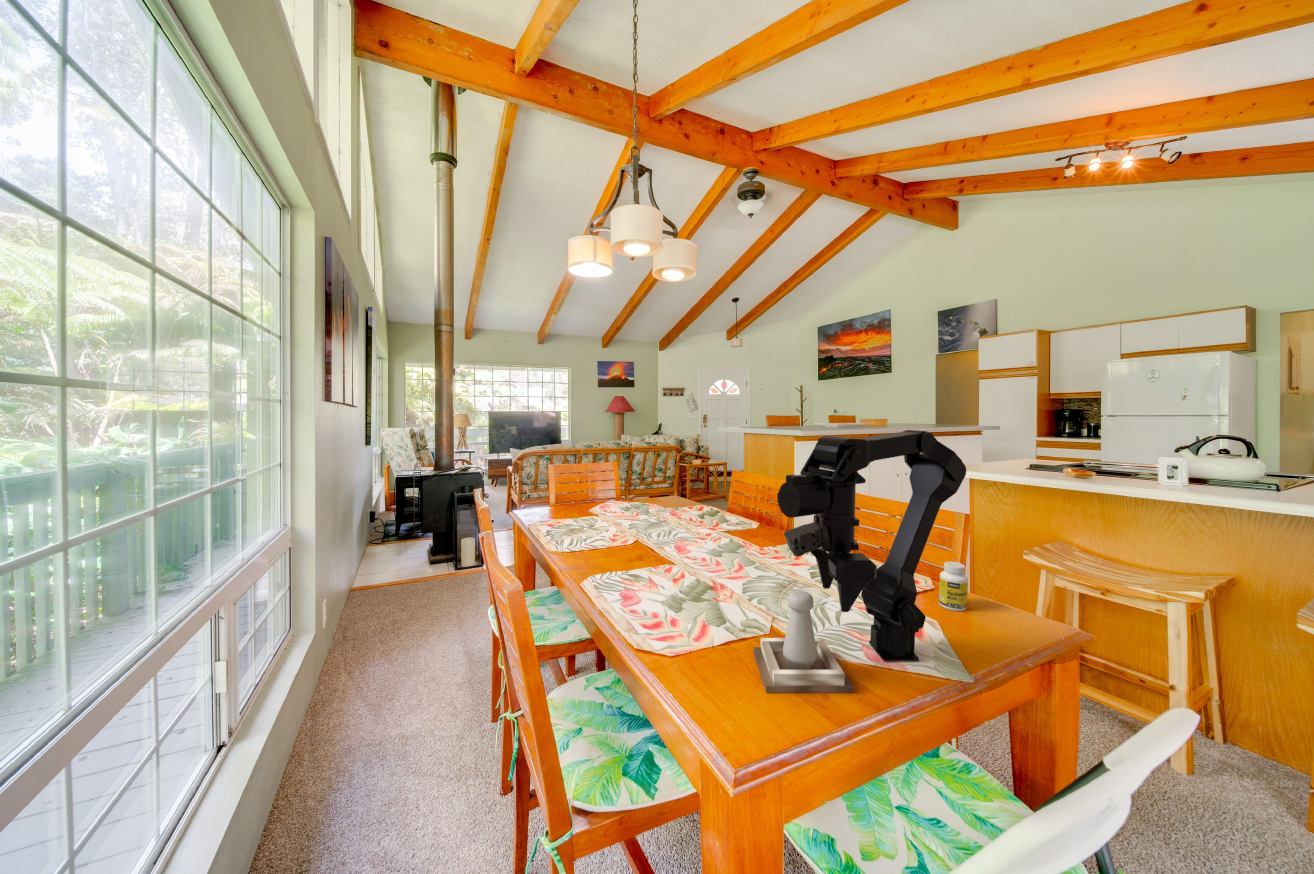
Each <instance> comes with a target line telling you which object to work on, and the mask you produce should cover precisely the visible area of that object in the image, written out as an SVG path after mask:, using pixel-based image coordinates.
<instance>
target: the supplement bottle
mask: <svg viewBox="0 0 1314 874" xmlns="http://www.w3.org/2000/svg"><path fill="white" fill-rule="evenodd" d="M965 572H966V566H965V565H964V564H963V563H960V562H957V561H945V562H944V563H943V571H941V572H940V574H939V582H938V583H939V586H938V589H939V590H938V605H939V606H940V607H942V608H944V609H946V610H949V611H953V612H963V611H966V609H967V604H968V588H969V578H968V576H967V575H966V574H965Z"/></svg>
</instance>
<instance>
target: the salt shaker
mask: <svg viewBox="0 0 1314 874" xmlns="http://www.w3.org/2000/svg"><path fill="white" fill-rule="evenodd" d="M787 605H788V607H789V608H790V614H789V619H788V623H787V628H786V633H785V637H784V638H785V641H784V646H783V655H784V658H785V660H786V662H787V665H788V666H789V667H790V668H792V669H793V670H810V669H812V668H813V666H814V664H815V662H816V660H817V650H816V644H815V638H816V637H815V633H814V626H813V622H812V617H811V610H812V609H813V608H814V597H813V596H812V595H811V594H810V593H809V592H807V591H802V590H793V591H791V592H790V593H789V594H788V595H787Z"/></svg>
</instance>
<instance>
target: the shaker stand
mask: <svg viewBox="0 0 1314 874" xmlns="http://www.w3.org/2000/svg"><path fill="white" fill-rule="evenodd" d="M814 638H815V644H816V650H817V660H816V662H815V664H814V666H813V668H812V669H810V670H793V669H792V668H790V667H789V666H788V665H787V662H786V660H785V658H784V655H783V646H784V641H785V637H760V646H758V647H757V646H754V647H753V648H752V649H753V650H752V651H753V652H752V653H753V656H754V658H755V661H756V664H757V665H756V666H757V668H758V671H759V674H760V677H761V682H762V684H763V687H764V689H765V693H766V694H767V693H769V694H771V693H773V694H774V693H775V694H776V693H778V694H779V693H780V694H781V693H784V694H785V693H790V694H791V693H793V694H794V693H804V694H805V693H806V694H807V693H816V694H817V693H818V694H819V693H822V694H823V693H826V694H831V693H833V694H837V693H838V694H839V693H840V694H842V693H843V694H844V693H845V694H848V693H850V694H851V693H852V694H853V693H854V685H853V684H852V683H851V681H850V679H849V678H848V676H847V674H846V673H845V671H844V669H842V667H841V665H840V664H839V662H838V660H837V659H836V657H835V656H834V654H833V652H832V651H831V648H830V647H828V645H827V643H826V642H825V640H824V639H823V637H814Z"/></svg>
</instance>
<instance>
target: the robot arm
mask: <svg viewBox="0 0 1314 874" xmlns="http://www.w3.org/2000/svg"><path fill="white" fill-rule="evenodd" d="M902 456H904V463H905V464H906V465H907V466H908V468H909V469H910V473H909V479H908V480H909V482H910V487H911V491H912V493H911V497H910V500H909V502H908V505H907V507H906V510H905V512H904V514H903V516H902V520H901V522H900V523H899V527H898V530H897V532H896V534H895V537H894V539H893V542H892V544H891V546H890V550H889V552H888V555H887V557H886V559H885V562H884V563H883V564H882V565H881V566H879V567H878V566H877V565H876V563H874V562H873V561H872V560H871V559H870V558H869V557H867V555H865V554H864V553H863V552H851V551H859V549H860V545H859V543H858V542H856V541H855V531H856V530H855V529H856V527H860V519H858V518H857V517H856V490H857V489H856V488H857V486H856V485H858V484H859V485H860V484H865V483H866V482H867V481H866V480H867V479H865V477H864V476H863V475H861V474H860V473H859V472H858V471H861V470H863V469H865V468H867V467H868V466H869V465H870V463H873V462H875V461H879V460H885V459H886V460H887V459H891V458H897V457H902ZM966 476H967V467H966V465H965V463H964V462H963V460H962V459H961V458H960V457H959V455H958V454H957V453H956V451H954V450H952V449H951V448H949V447H948V446H947V445H944V443H942V442H940V441H939V440H937V438H936V437H935V435H934V434H932V433H931V432H929V431H927V430H918V429H917V430H913V429H905V430H903V431H899V432H893V433H886V434H879V435H874V436H866V437H859V438H856V437H847V436H846V437H843V436H836V435H835V436H833V435H824V436H821V437H819V438H818V439H817V442H816V443H815V446H814V448H813V450H812V452H811V454H810V455H809V457H808V458H807V460H806V462H805V463H804V465H803V467H802V468H801V470H800V474H786V476H785V482H784V483H782V485H780V487H779V489H778V492H777V495H776V496H777V505H778V507H779V510H780V512H781V513H782V514H783V515H784V516H785V517H787V518H789V519H792V518H798V517H807V516H812V515H813V522H810V523H807V524H801V525H799V526H796V527H794V528H791V529H788V530H785V532H783V535H784V538H785V541H786V543H787V546H788V549H789V551H790V552H791V553H792V555H793V556H794V557H802V556H805V554H807V553H811V555H813V556H814V558H815V561H816V564H817V568H818V572H819V577H820V581H821V585H822V588H823V589H824V590H825V589H826V590H830V588H831V586H832V583H833V581H834V580H835V581H836V584H837V590H838V591H837V592H838V597H839V598H838V599H839V606H840V611H841V612H843V613H849V612H850V610H851V609H852V607H853V605H854V604H855V602H856V600H858V599H857V598H859V595H861V598H862V602H863V604H864V606H865V610H866V613H867V614H868V615H872V616H873V624H871V625H870V640H869V641H868V643H869V645H870V646H871V647H872V649H873V650H874V651H875V652H876V654H877V655H878V656H879V658H880V659H881V660H882V661H884V662H919V661H920V658H919V656H918V655H917V654H916V653H915V649H916V648H915V645H916V644H915V643H916V641H915V640H916V633H919V631H920V629H923V628H924V625H925V622H926V615H925V613H923V612H922V611H921V609H920V608H919V607H918V606H917V605H916V604H915V603H916V600H917V596H918V590H917V587H916V583H915V573H916V570H917V567H918V564H919V562H920V560H921V557H922V554H923V552H924V550H925V548H926V545H927V542H928V539H929V536H930V534H931V532H932V529H933V527H934V525H935V520H936V518H937V516H938V513H939V511H940V508H941V506H942V504H943V503H944V502H946V501H947V500H948V499H950V498H951V497H952V496H954V495H955V494H956V493H957V492H958V490H959V489H960V486H961V485H962V483H963V482H964V479H965V478H966Z"/></svg>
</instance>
